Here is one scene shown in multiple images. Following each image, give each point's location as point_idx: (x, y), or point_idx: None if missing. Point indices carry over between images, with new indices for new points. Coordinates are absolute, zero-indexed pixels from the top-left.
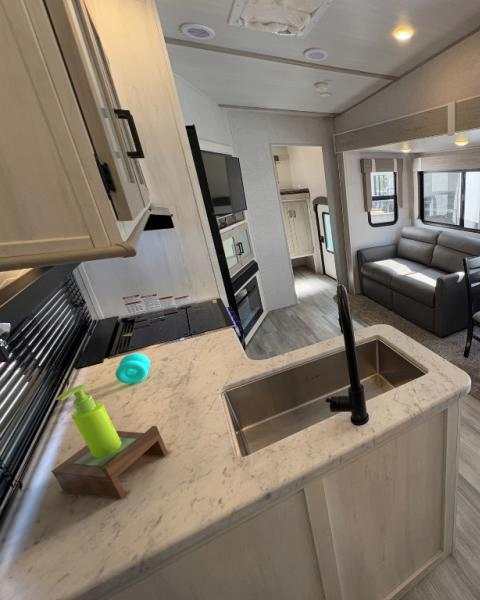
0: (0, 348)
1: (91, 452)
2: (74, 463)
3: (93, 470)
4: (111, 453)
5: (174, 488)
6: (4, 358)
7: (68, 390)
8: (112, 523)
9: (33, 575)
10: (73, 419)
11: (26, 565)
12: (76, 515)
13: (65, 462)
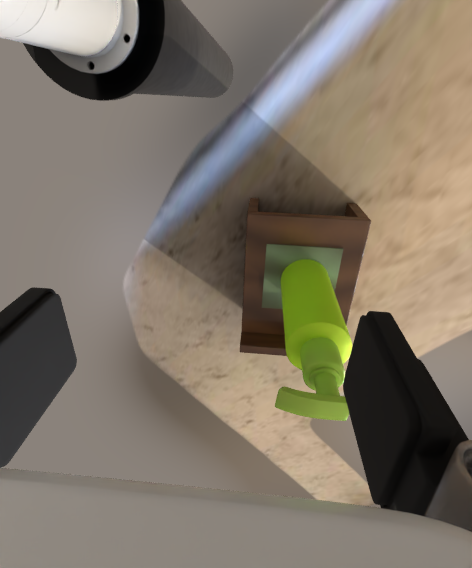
0: (384, 506)
1: (282, 279)
2: (266, 247)
3: (253, 298)
4: None
5: (263, 366)
6: (351, 413)
7: (318, 401)
8: (209, 328)
9: (141, 293)
10: (288, 333)
11: (146, 272)
12: (212, 269)
13: (270, 220)
